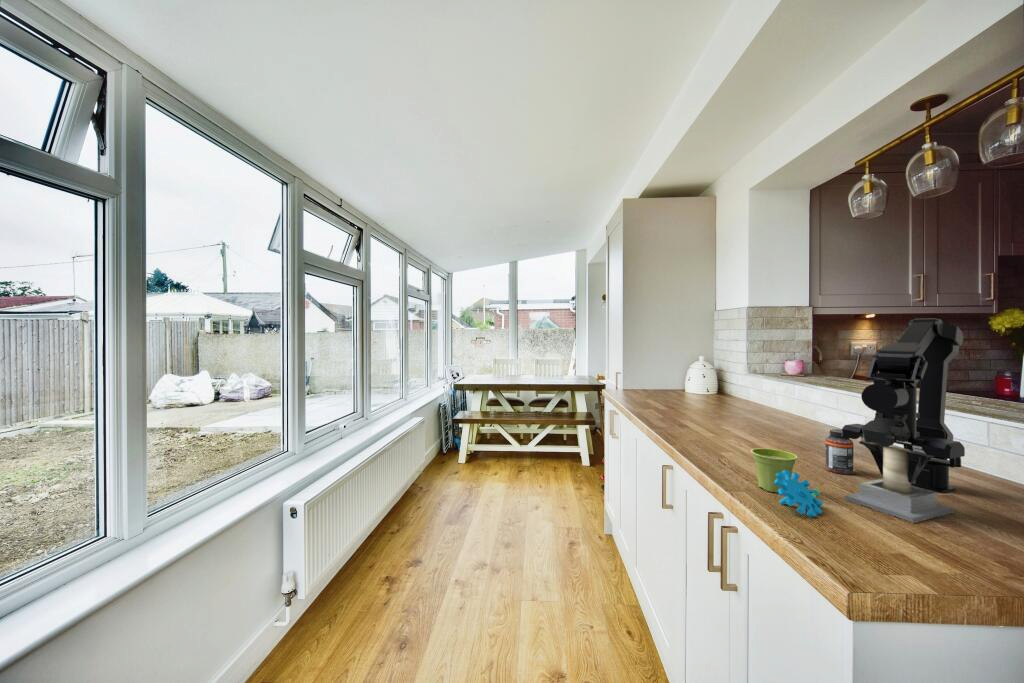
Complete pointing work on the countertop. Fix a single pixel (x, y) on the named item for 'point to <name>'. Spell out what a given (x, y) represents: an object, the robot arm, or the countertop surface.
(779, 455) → the plant pot
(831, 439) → the supplement bottle
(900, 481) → the beech peg
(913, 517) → the socket plate
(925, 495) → the socket collar
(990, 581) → the countertop surface
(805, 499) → the blue knobbly cluster
